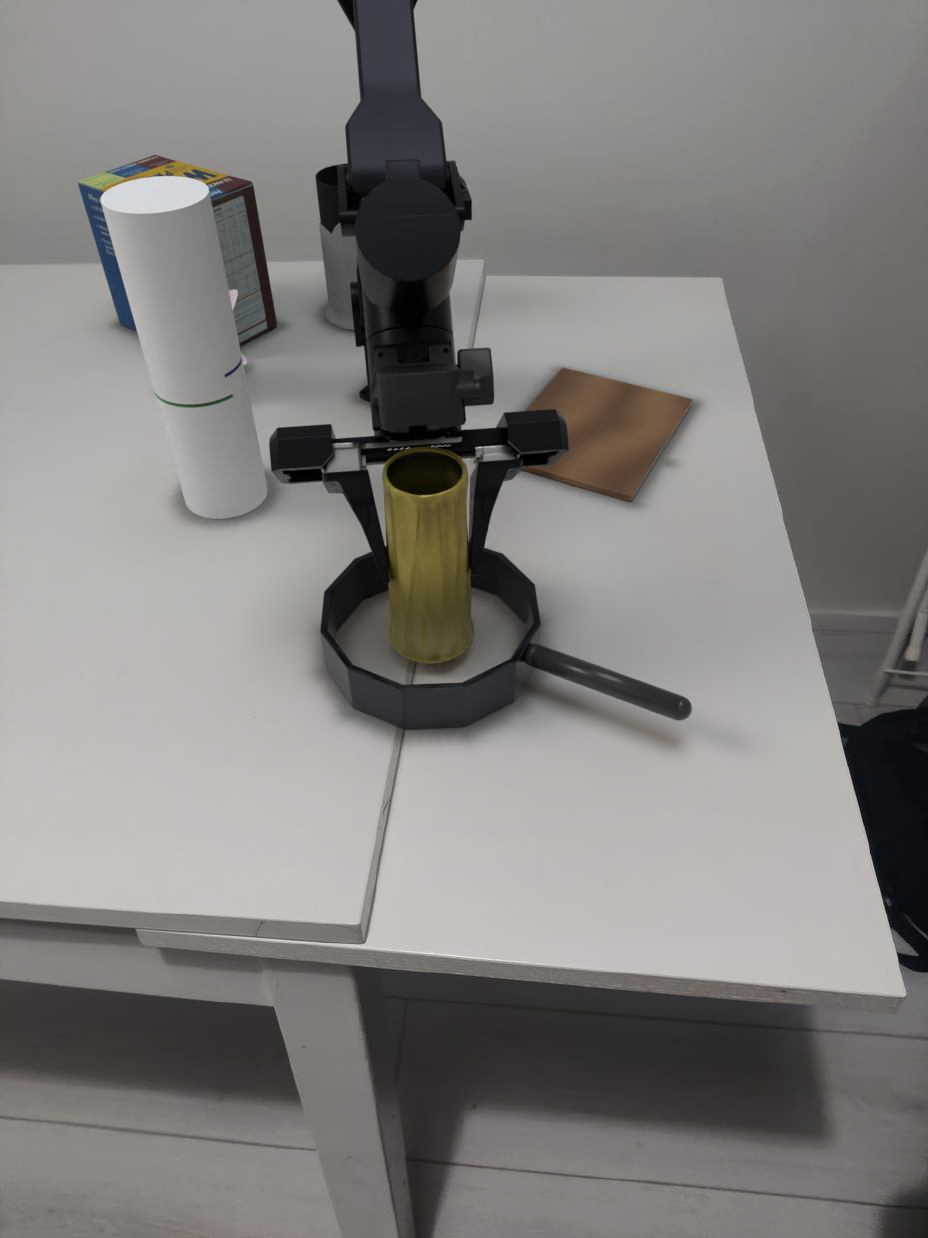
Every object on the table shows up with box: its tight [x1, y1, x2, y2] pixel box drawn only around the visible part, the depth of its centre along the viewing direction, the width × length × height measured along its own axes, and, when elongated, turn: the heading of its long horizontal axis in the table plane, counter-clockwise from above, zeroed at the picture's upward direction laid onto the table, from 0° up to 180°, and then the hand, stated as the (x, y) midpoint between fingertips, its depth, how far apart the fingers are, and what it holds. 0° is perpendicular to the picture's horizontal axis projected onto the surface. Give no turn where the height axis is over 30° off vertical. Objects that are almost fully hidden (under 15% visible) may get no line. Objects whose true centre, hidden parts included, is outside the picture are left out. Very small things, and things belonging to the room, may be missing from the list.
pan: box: [319, 545, 693, 730], centre depth 60 cm, size 26×15×4 cm, turn 63°
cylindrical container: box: [100, 176, 269, 520], centre depth 68 cm, size 7×7×25 cm
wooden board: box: [521, 367, 694, 502], centre depth 83 cm, size 14×18×1 cm
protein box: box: [76, 154, 278, 346], centre depth 94 cm, size 10×15×16 cm
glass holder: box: [314, 162, 358, 331], centre depth 98 cm, size 9×14×15 cm, turn 24°
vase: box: [381, 446, 475, 664], centre depth 58 cm, size 6×6×14 cm
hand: (430, 579), depth 57 cm, fingers closed on vase, 5 cm apart
